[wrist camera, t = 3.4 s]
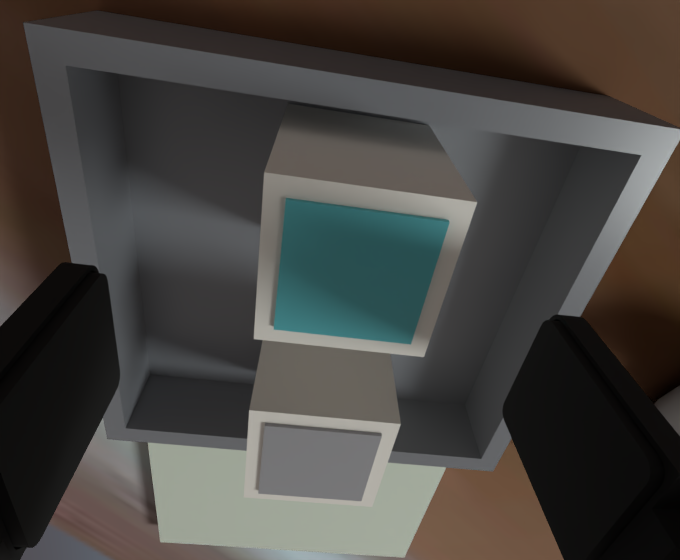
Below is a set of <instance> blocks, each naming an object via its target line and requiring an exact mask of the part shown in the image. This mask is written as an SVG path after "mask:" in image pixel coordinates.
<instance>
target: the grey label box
mask: <svg viewBox="0 0 680 560" xmlns="http://www.w3.org/2000/svg"><path fill="white" fill-rule="evenodd" d="M400 425H401V422H400V415H399V408H398V401H397V395H396V388H395V381H394V375H393V368H392V361H391V354H390V353H380V352H371V351H361V350H352V349H342V348H333V347H324V346H314V345H305V344H295V343H286V342H277V341H267V340H263V341H262V346H261V351H260V357H259V362H258V367H257V372H256V377H255V382H254V388H253V393H252V398H251V403H250V408H249V421H248V436H247V452H246V468H245V484H244V497H245V498H258V499H272V500H285V501H299V502H312V503H326V504H339V505H353V506H366V507H372V506H373V503H374V501H375V498H376V495H377V492H378V489H379V486H380V483H381V480H382V477H383V474H384V472H385V469H386V466H387V463H388V460H389V457H390V454H391V451H392V448H393V445H394V443H395V440H396V437H397V434H398V431H399V428H400Z"/></svg>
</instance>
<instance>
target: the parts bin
mask: <svg viewBox="0 0 680 560" xmlns="http://www.w3.org/2000/svg"><path fill="white" fill-rule="evenodd" d="M23 25H24V30H25V35H26V39H27V44H28V49H29V54H30V59H31V64H32V69H33V74H34V79H35V84H36V89H37V94H38V99H39V104H40V109H41V114H42V118H43V123H44V128H45V133H46V138H47V143H48V148H49V153H50V158H51V163H52V168H53V173H54V178H55V183H56V188H57V193H58V197H59V202H60V207H61V212H62V217H63V222H64V227H65V232H66V237H67V242H68V247H69V252H70V257H71V262H72V263H76V264H86V265H94V266H96V267H97V269H98V271H99V273H103V274H105V275H106V276H107V279H108V285H109V293H110V300H111V307H112V315H113V322H114V329H115V337H116V344H117V351H118V359H119V366H120V381H119V385H118V388H117V390H116V392H115V394H114V396H113V398H112V400H111V402H110V404H109V406H108V408H107V410H106V412H105V414H104V416H103V420H104V425H105V429H106V434H107V439H112V440H123V441H135V442H147V443H159V444H171V445H183V446H195V447H207V448H219V449H231V450H243V451H247V436H248V421H249V408H250V403H251V398H252V393H253V388H254V382H255V377H256V372H257V367H258V362H259V357H260V351H261V346H262V341H263V340H258V339H254V325H255V309H256V294H257V278H258V262H259V246H260V230H261V214H262V198H263V183H264V171H265V168H266V166H267V163H268V160H269V157H270V154H271V151H272V148H273V145H274V143H275V140H276V137H277V134H278V131H279V128H280V125H281V122H282V120H283V117H284V114H285V111H286V108H287V105H288V104H294V105H300V106H307V107H313V108H319V109H326V110H332V111H339V112H345V113H352V114H358V115H365V116H371V117H378V118H384V119H390V120H397V121H403V122H410V123H416V124H423V125H429V126H430V127H431V129H432V131H433V132H434V134H435V135H436V137H437V139H438V140H439V142H440V143H441V145H442V147H443V148H444V150H445V151H446V153H447V155H448V156H449V158H450V159H451V161H452V163H453V164H454V166H455V167H456V169H457V171H458V172H459V174H460V175H461V177H462V179H463V180H464V182H465V183H466V185H467V187H468V188H469V190H470V191H471V193H472V194H473V196H474V198H475V199H476V201H477V205H476V208H475V210H474V213H473V216H472V219H471V222H470V225H469V228H468V231H467V234H466V237H465V240H464V242H463V245H462V248H461V251H460V254H459V257H458V260H457V263H456V266H455V269H454V271H453V274H452V277H451V280H450V283H449V286H448V289H447V292H446V295H445V298H444V300H443V303H442V306H441V309H440V312H439V315H438V318H437V321H436V324H435V327H434V329H433V332H432V335H431V338H430V341H429V344H428V347H427V350H426V353H425V356H424V357H418V356H408V355H399V354H391V361H392V368H393V375H394V381H395V388H396V395H397V401H398V408H399V415H400V422H401V425H400V428H399V431H398V434H397V437H396V440H395V443H394V445H393V448H392V451H391V454H390V457H389V460H388V463H399V464H411V465H423V466H435V467H447V468H459V469H471V470H483V471H493V470H494V468H495V467H496V465H497V463H498V461H499V459H500V458H501V456H502V454H503V452H504V451H505V449H506V447H507V445H508V444H509V442H510V440H511V435H510V433H509V431H508V428H507V426H506V424H505V421H504V418H503V413H502V409H503V404H504V401H505V399H506V397H507V395H508V393H509V391H510V389H511V387H512V385H513V383H514V381H515V379H516V376H517V374H518V372H519V370H520V368H521V366H522V364H523V362H524V360H525V358H526V356H527V354H528V351H529V349H530V347H531V345H532V343H533V341H534V339H535V337H536V335H537V333H538V331H539V329H540V327H541V325H542V323H543V322H544V321H545V320H549V319H550V318H551V317H552V316H553V315H557V314H558V315H567V316H577V317H580V316H581V314H582V312H583V310H584V309H585V307H586V305H587V303H588V302H589V300H590V298H591V296H592V294H593V293H594V291H595V289H596V287H597V286H598V284H599V282H600V280H601V279H602V277H603V275H604V273H605V271H606V270H607V268H608V266H609V264H610V263H611V261H612V259H613V257H614V255H615V254H616V252H617V250H618V248H619V247H620V245H621V243H622V241H623V239H624V238H625V236H626V234H627V232H628V231H629V229H630V227H631V225H632V224H633V222H634V220H635V218H636V216H637V215H638V213H639V211H640V209H641V208H642V206H643V204H644V202H645V200H646V199H647V197H648V195H649V193H650V192H651V190H652V188H653V186H654V184H655V183H656V181H657V179H658V177H659V176H660V174H661V172H662V170H663V169H664V167H665V165H666V163H667V161H668V160H669V158H670V156H671V154H672V153H673V151H674V149H675V147H676V145H677V144H678V142H679V140H680V128H679V127H677V126H675V125H672V124H670V123H668V122H666V121H664V120H661V119H659V118H657V117H655V116H652V115H650V114H648V113H646V112H643V111H641V110H639V109H637V108H634V107H632V106H630V105H628V104H626V103H623V102H621V101H619V100H617V99H614V98H612V97H610V96H605V95H599V94H593V93H587V92H581V91H575V90H569V89H563V88H557V87H551V86H545V85H539V84H533V83H527V82H521V81H515V80H509V79H503V78H497V77H492V76H486V75H480V74H474V73H468V72H462V71H456V70H450V69H444V68H438V67H432V66H426V65H420V64H414V63H408V62H402V61H396V60H390V59H384V58H378V57H372V56H366V55H360V54H354V53H348V52H342V51H336V50H330V49H324V48H318V47H313V46H307V45H301V44H295V43H289V42H283V41H277V40H271V39H265V38H259V37H253V36H247V35H241V34H235V33H229V32H223V31H217V30H211V29H205V28H199V27H193V26H187V25H181V24H175V23H169V22H163V21H157V20H151V19H145V18H139V17H134V16H128V15H122V14H116V13H110V12H104V11H98V10H97V11H91V12H85V13H78V14H72V15H66V16H60V17H53V18H47V19H41V20H34V21H28V22H23Z"/></svg>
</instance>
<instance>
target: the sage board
mask: <svg viewBox="0 0 680 560" xmlns="http://www.w3.org/2000/svg"><path fill="white" fill-rule="evenodd" d="M148 449H149V457H150V465H151V473H152V481H153V488H154V496H155V504H156V512H157V520H158V528H159V536H160V542H169V543H184V544H200V545H216V546H231V547H247V548H262V549H278V550H294V551H309V552H325V553H341V554H356V555H372V556H388V557H403V558H404V557H405V555H406V553H407V550H408V548H409V546H410V544H411V542H412V540H413V538H414V535H415V533H416V531H417V529H418V527H419V525H420V522H421V520H422V518H423V516H424V514H425V512H426V510H427V507H428V505H429V503H430V501H431V499H432V497H433V495H434V492H435V490H436V488H437V486H438V484H439V482H440V479H441V477H442V475H443V473H444V471H445V469H446V467H435V466H423V465H411V464H399V463H387V466H386V469H385V472H384V474H383V477H382V480H381V483H380V486H379V489H378V492H377V495H376V498H375V501H374V503H373V506H372V507H366V506H353V505H339V504H326V503H312V502H299V501H285V500H272V499H258V498H245V497H244V484H245V468H246V452H247V451H243V450H231V449H219V448H207V447H195V446H183V445H171V444H159V443H148Z"/></svg>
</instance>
